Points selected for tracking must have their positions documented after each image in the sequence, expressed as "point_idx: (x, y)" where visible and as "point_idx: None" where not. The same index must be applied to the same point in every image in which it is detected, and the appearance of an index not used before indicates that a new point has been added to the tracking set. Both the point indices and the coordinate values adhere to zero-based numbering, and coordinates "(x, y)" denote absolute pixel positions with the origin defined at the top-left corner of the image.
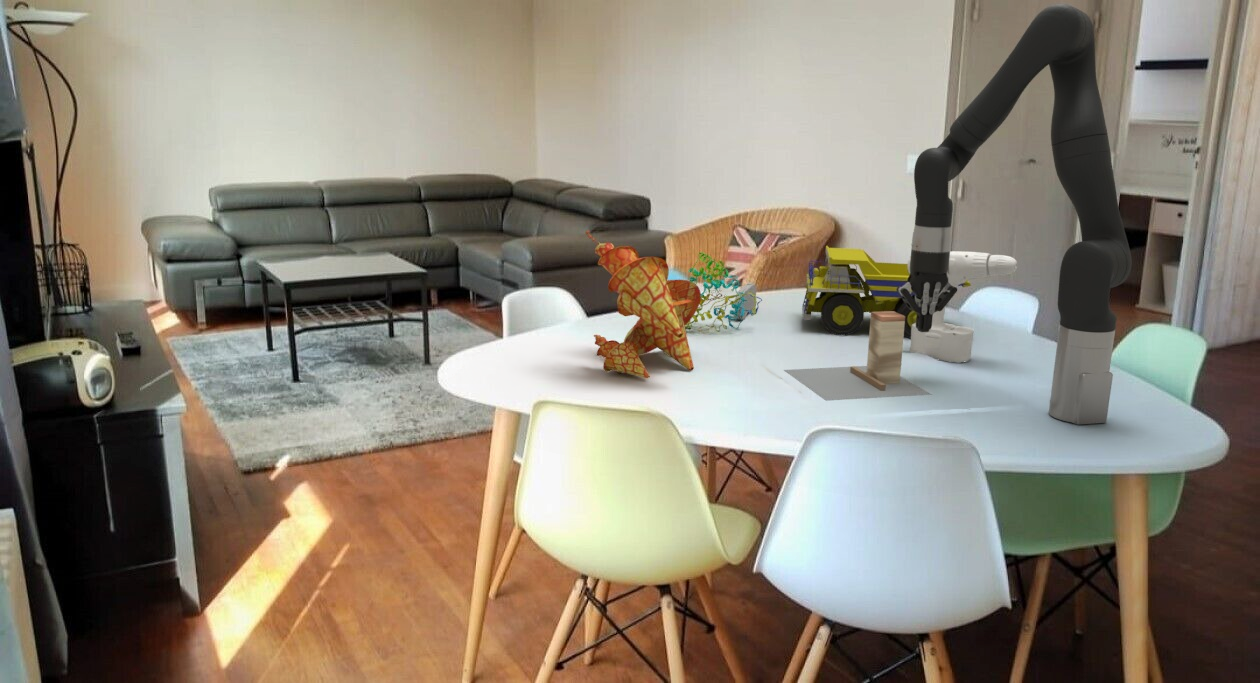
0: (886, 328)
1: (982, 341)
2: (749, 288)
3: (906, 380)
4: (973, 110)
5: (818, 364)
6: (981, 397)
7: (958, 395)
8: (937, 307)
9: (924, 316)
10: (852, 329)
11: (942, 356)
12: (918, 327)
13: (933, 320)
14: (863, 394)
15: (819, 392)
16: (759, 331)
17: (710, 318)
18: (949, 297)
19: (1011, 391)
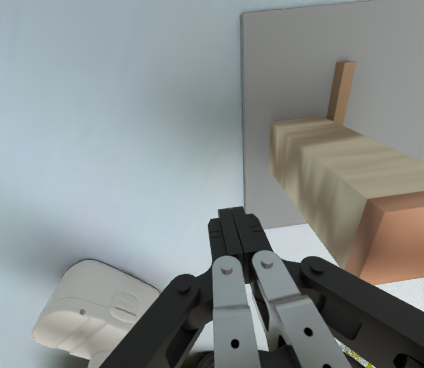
0: (422, 173)
1: (23, 347)
2: None
3: (247, 139)
4: None
5: (323, 248)
6: (102, 17)
7: (159, 44)
8: (198, 291)
9: (256, 246)
10: (207, 360)
11: (115, 275)
12: (256, 221)
13: None
14: (404, 31)
15: None
16: None
17: (368, 365)
18: (118, 365)
19: (5, 68)
